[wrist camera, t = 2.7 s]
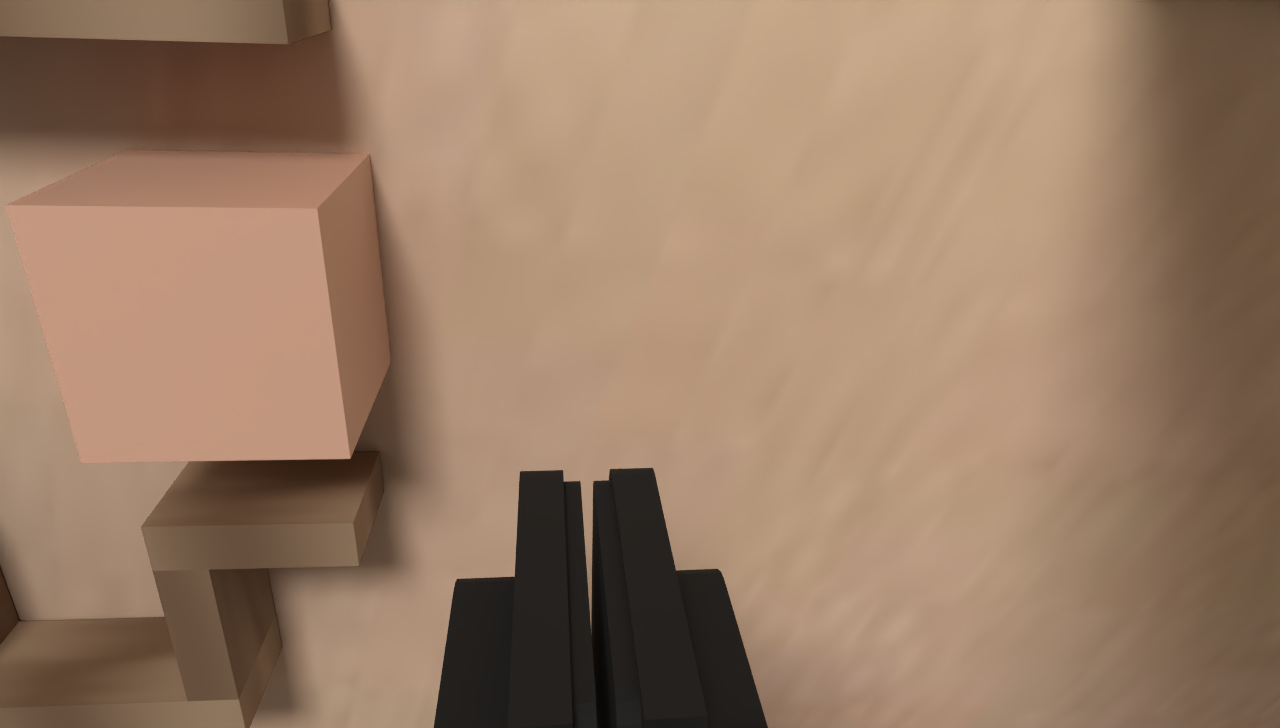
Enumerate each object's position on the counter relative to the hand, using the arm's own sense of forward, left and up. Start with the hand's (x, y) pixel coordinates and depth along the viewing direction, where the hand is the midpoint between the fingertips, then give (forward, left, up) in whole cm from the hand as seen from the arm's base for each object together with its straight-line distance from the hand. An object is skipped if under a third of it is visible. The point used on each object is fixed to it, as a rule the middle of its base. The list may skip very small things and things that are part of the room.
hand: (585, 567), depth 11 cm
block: (+7, 0, -10) cm, 12 cm away
